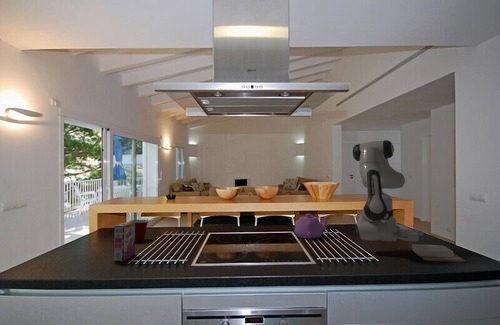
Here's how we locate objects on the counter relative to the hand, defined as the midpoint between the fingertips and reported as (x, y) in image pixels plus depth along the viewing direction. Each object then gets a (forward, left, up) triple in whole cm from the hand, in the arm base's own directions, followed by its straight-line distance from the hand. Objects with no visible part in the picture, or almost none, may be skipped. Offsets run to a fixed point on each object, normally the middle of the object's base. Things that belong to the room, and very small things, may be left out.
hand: (422, 233), depth 136 cm
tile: (0, -3, -8) cm, 9 cm away
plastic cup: (0, -152, -11) cm, 152 cm away
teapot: (-28, -52, -11) cm, 60 cm away
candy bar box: (+31, -139, -11) cm, 142 cm away
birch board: (0, +6, -11) cm, 12 cm away
